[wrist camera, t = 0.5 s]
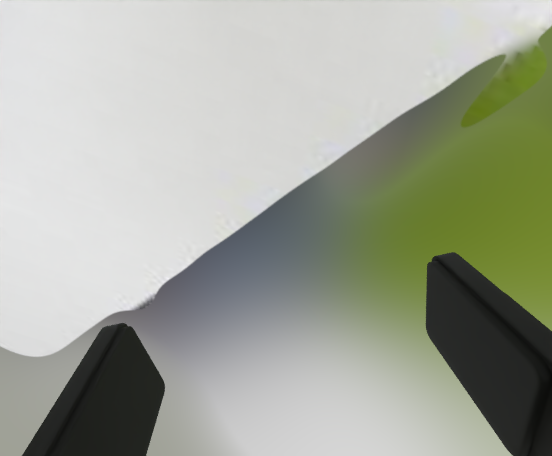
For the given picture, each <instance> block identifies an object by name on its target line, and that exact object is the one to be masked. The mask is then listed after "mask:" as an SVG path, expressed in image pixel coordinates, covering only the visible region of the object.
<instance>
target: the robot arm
mask: <svg viewBox="0 0 552 456" xmlns="http://www.w3.org/2000/svg"><path fill="white" fill-rule="evenodd" d="M426 298H427V299H426V330H427V333H428V336H429V337H430V339H431V341H432V342H433V343H434V345H435V346H436V347H437V349H438V351H439V352H440V354H441V355H442V356H443V358H444V359H445V361H446V362H447V364H448V365H449V367H450V368H451V369H452V371H453V372H454V374H455V375H456V377H457V378H458V379H459V381H460V382H461V384H462V385H463V387H464V388H465V390H466V391H467V392H468V394H469V395H470V397H471V398H472V400H473V401H474V403H475V404H476V405H477V407H478V408H479V410H480V411H481V413H482V414H483V415H484V417H485V418H486V420H487V421H488V422H489V424H490V425H491V427H492V428H493V430H494V431H495V433H496V434H497V435H498V437H499V439H500V440H501V441H502V443H503V444H504V446H505V447H506V448H507V450H508V451H509V452H510V453H511V454H512V455H513V456H552V331H551V330H549V329H548V328H547V327H546V326H545V325H543V324H542V323H541V322H540V321H539V320H537V319H536V318H535V317H534V316H533V315H531V314H530V313H529V312H528V311H526V310H525V309H524V308H523V307H522V306H520V305H519V304H518V303H517V302H516V301H514V300H513V299H512V298H511V297H510V296H508V295H507V294H505V293H504V292H503V291H501V290H500V289H499V288H498V287H497V286H495V285H494V284H493V283H492V282H491V281H489V280H488V279H487V278H486V277H484V276H483V275H482V274H481V273H480V272H479V271H477V270H476V269H475V268H474V267H472V266H471V265H470V264H469V263H468V262H466V261H465V260H464V259H463V258H462V257H460V256H459V255H458V254H456V253H453V252H452V253H447V254H443V255H438V256H434V257H433V259H432V262H429V263H428V264H427V296H426ZM164 391H165V384H164V381H163V379H162V377H161V376H160V374H159V372H158V370H157V369H156V367H155V365H154V363H153V362H152V360H151V359H150V357H149V355H148V353H147V351H146V350H145V348H144V346H143V345H142V343H141V341H140V339H139V338H138V336H137V334H136V333H135V331H134V329H133V328H132V327H130V326H129V327H128V326H127V325H126V324H124V323H120V324H116V325H111V326H106V327H104V328H102V330H101V331H100V332H99V334H98V336H97V337H96V339H95V340H94V342H93V343H92V345H91V347H90V348H89V350H88V352H87V353H86V355H85V356H84V358H83V359H82V361H81V363H80V365H79V366H78V367H77V369H76V371H75V372H74V374H73V375H72V377H71V378H70V380H69V382H68V383H67V385H66V386H65V388H64V390H63V391H62V393H61V394H60V396H59V398H58V399H57V401H56V402H55V404H54V406H53V407H52V409H51V410H50V412H49V414H48V415H47V417H46V419H45V420H44V422H43V423H42V425H41V426H40V428H39V430H38V431H37V433H36V434H35V436H34V438H33V439H32V441H31V443H30V444H29V445H28V447H27V449H26V450H25V452H24V454H23V455H22V456H146V454H147V450H148V447H149V443H150V440H151V436H152V433H153V429H154V426H155V423H156V419H157V416H158V413H159V409H160V406H161V402H162V399H163V396H164Z"/></svg>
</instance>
